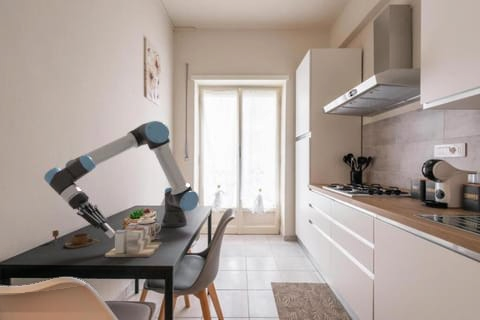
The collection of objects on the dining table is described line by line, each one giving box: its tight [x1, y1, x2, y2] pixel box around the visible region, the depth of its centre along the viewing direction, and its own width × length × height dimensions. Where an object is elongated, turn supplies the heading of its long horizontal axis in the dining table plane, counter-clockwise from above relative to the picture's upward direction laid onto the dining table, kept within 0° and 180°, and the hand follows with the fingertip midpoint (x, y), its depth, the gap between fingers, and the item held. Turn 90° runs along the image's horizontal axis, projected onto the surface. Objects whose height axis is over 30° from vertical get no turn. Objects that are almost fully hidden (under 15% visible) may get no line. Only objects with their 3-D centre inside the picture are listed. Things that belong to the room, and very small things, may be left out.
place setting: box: [52, 230, 100, 249], centre depth 132 cm, size 18×20×6 cm
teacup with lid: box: [136, 215, 162, 242], centre depth 139 cm, size 12×9×12 cm
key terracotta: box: [124, 225, 136, 234], centre depth 121 cm, size 3×4×9 cm
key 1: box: [114, 229, 127, 253], centre depth 114 cm, size 3×4×9 cm
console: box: [104, 225, 162, 258], centre depth 121 cm, size 17×18×10 cm
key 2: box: [127, 222, 139, 229], centre depth 127 cm, size 3×4×9 cm
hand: (113, 235), depth 121 cm, fingers closed
